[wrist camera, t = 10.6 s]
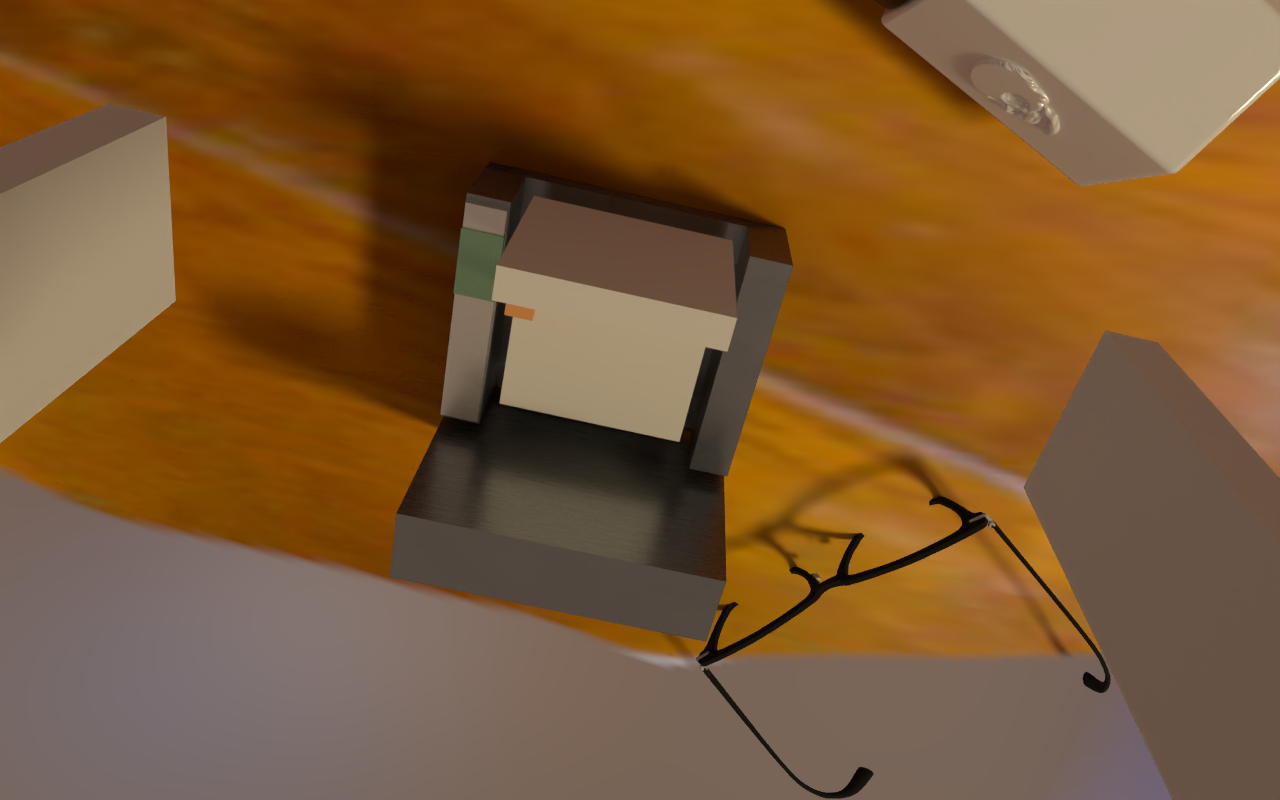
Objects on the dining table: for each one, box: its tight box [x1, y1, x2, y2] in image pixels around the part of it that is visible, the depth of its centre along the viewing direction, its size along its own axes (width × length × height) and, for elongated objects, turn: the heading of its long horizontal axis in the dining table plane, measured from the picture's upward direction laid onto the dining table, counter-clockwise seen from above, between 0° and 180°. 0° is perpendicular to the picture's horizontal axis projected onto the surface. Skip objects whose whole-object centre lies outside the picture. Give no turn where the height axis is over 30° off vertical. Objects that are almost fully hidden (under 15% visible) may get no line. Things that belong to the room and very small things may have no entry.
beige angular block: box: [492, 196, 737, 442], centre depth 34 cm, size 8×8×8 cm
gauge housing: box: [390, 162, 793, 641], centre depth 36 cm, size 13×12×10 cm
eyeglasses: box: [696, 497, 1110, 798], centre depth 46 cm, size 16×16×4 cm
